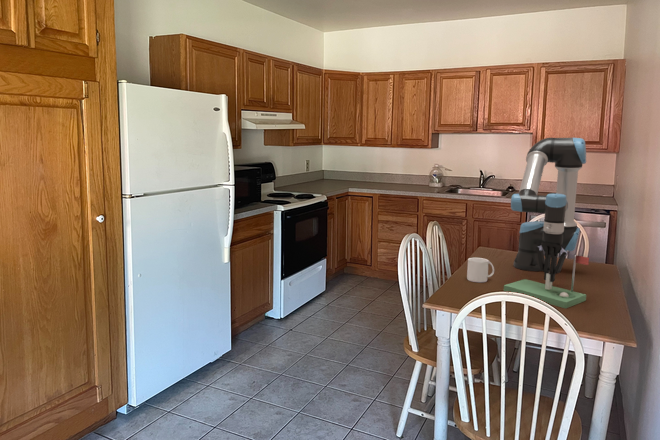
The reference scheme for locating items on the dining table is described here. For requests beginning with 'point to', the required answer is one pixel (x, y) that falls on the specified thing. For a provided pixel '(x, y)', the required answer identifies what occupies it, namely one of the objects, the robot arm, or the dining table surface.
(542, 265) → the robot arm
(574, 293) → the green
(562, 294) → the ball
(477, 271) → the mug
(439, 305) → the dining table surface
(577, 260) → the flag pin
